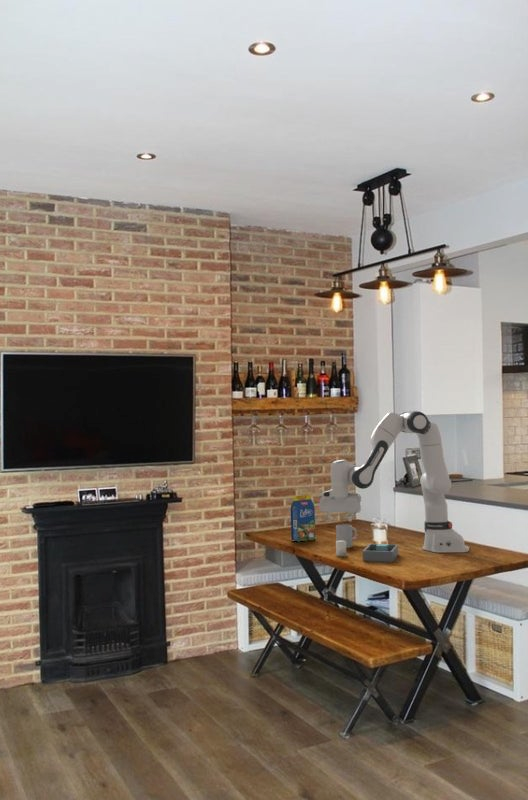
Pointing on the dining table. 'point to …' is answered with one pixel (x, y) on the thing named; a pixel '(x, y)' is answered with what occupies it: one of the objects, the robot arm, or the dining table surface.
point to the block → (382, 547)
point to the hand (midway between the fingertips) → (340, 521)
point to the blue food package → (302, 518)
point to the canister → (341, 548)
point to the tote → (380, 554)
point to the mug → (345, 534)
